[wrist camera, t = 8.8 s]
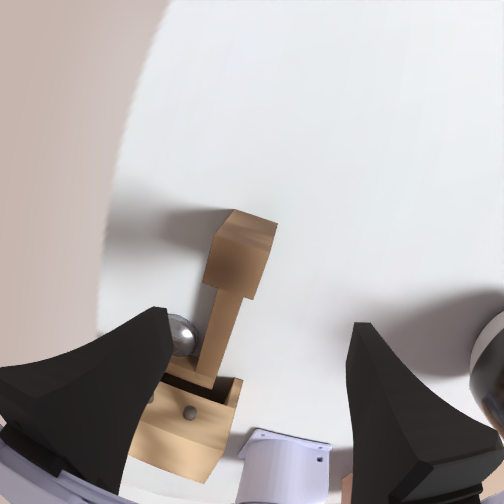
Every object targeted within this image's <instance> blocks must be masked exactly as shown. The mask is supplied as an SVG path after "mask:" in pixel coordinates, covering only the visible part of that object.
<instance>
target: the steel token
mask: <svg viewBox="0 0 504 504" xmlns="http://www.w3.org/2000/svg"><path fill="white" fill-rule="evenodd" d="M168 318H169V323H170V328H171V333H172V338H173V343H174V350H173V353H172V355H173V356H177V357H184V356H188V355H190V354H191V353H192V352H193V351H194V349H195V347H196V344H197V342H198V333H197V331H196V329H195V327H194V326H193V325H192V324H191V323H190V322H189V321H188V320H187V319H185V318H183V317H181V316H179V315H175V314H168Z"/></svg>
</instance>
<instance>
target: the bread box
mask: <svg viewBox="0 0 504 504" xmlns="http://www.w3.org/2000/svg"><path fill="white" fill-rule="evenodd" d="M242 384H243V380H240V379H237V378H235V379H234V381H233V384H232V386H231V388H230V391H229V393H228V395H227V398H226V400H225V402H224V404H223V405H222V404H219V403H216V402H213V401H210V400H208V399H205V398H202V397H199V396H197V395H194V394H191V393H188V392H186V391H183V390H181V389H178V388H176V387H173V386H171V385H168V384H166V383H163V382H161V381H160V382H159V384H158V386H157V387H156V389H155V391H154V393H153V395H152V397H151V398H150V400H149V402H148V404H147V406H146V408H145V410H144V412H143V414H142V416H141V418H140V421H139V424H138V426H137V429H136V431H135V434H134V437H133V440H132V443H131V446H130V449H129V452H128V455H130V456H132V457H134V458H136V459H138V460H141V461H143V462H145V463H148V464H150V465H153V466H155V467H157V468H160V469H163V470H165V471H168V472H170V473H173V474H176V475H179V476H181V477H184V478H187V479H190V480H193V481H196V482H199V483H203V484H204V483H205V482H206V480H207V479H208V477H209V476H210V474H211V472H212V471H213V469H214V468H215V466H216V465H217V463H218V461H219V460H220V458H221V456H222V455H223V453H224V451H225V448H226V444H227V440H228V437H229V433H230V429H231V426H232V422H233V418H234V414H235V411H236V407H237V403H238V399H239V395H240V391H241V388H242Z"/></svg>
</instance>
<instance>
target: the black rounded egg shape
mask: <svg viewBox="0 0 504 504" xmlns="http://www.w3.org/2000/svg"><path fill="white" fill-rule="evenodd" d="M469 386H470V391H471V393H472V396H473V398H474V400H475V402H476V403H477V405H478V407H479V408H480V410H481V411H482V413H483V414H484V416H485V417H486V419H487V420H488V422H489V423H490V424H491V426H492V427H493V428H494V429H495V430H497V431H498V433H499V435H500V437H501V438H502V439H503V440H504V311H503V312H501V313H499V314H498V315H497V316H495V317H494V318H493V319H492V320H491V321H490V322H489V323H488V324H487V325H486V326H485V328H484V329H483V330H482V332H481V333H480V335H479V337H478V338H477V340H476V342H475V345H474V347H473V350H472V354H471V358H470V382H469Z"/></svg>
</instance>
